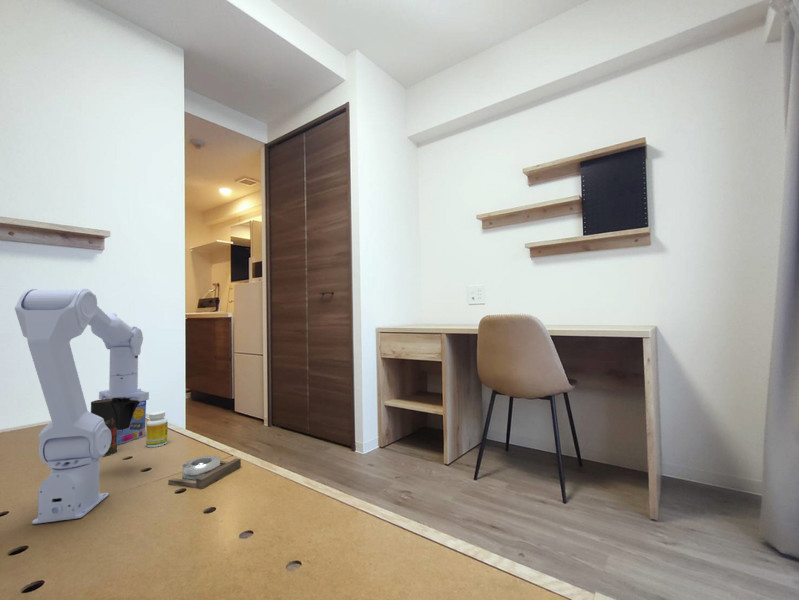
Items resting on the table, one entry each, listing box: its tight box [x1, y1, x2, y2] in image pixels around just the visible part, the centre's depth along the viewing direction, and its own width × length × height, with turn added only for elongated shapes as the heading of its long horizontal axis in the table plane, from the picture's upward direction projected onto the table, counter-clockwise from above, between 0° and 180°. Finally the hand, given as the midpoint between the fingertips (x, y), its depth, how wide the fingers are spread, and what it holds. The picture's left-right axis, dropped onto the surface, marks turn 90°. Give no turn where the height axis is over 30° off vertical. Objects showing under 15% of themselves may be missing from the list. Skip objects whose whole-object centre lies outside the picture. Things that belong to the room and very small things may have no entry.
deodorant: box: [90, 399, 118, 458], centre depth 103 cm, size 6×6×15 cm
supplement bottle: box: [145, 410, 169, 448], centre depth 109 cm, size 5×5×10 cm
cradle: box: [167, 457, 242, 490], centre depth 86 cm, size 10×12×2 cm
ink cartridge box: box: [117, 400, 147, 446], centre depth 115 cm, size 10×6×14 cm, turn 163°
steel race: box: [181, 455, 221, 481], centre depth 87 cm, size 8×8×3 cm
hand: (123, 428), depth 90 cm, fingers closed
